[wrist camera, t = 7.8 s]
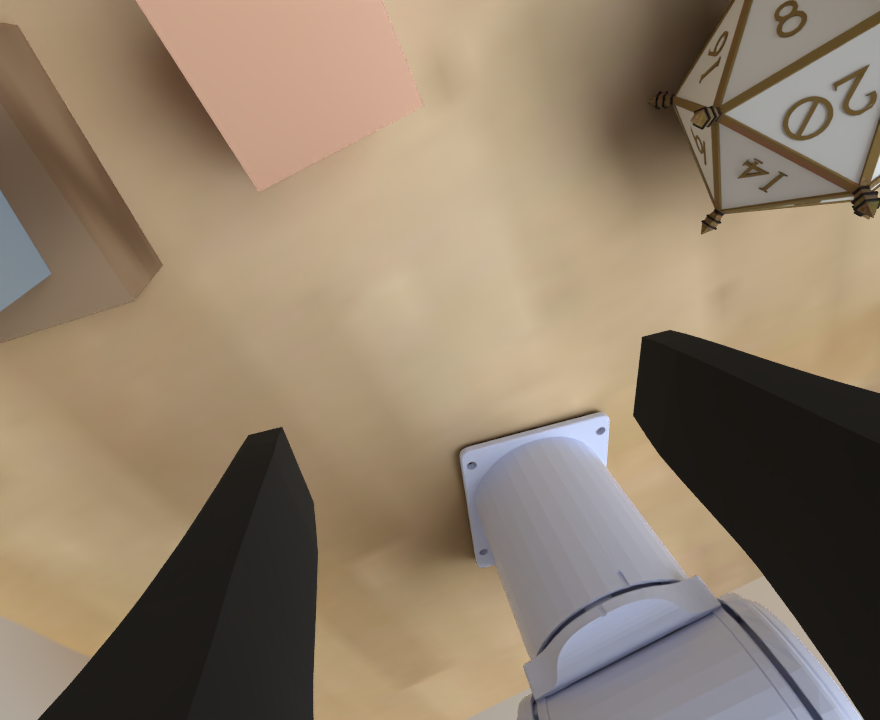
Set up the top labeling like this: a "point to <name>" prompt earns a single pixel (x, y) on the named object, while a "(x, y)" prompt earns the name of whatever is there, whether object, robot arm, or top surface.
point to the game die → (786, 106)
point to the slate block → (17, 258)
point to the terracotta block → (288, 74)
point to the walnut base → (62, 203)
